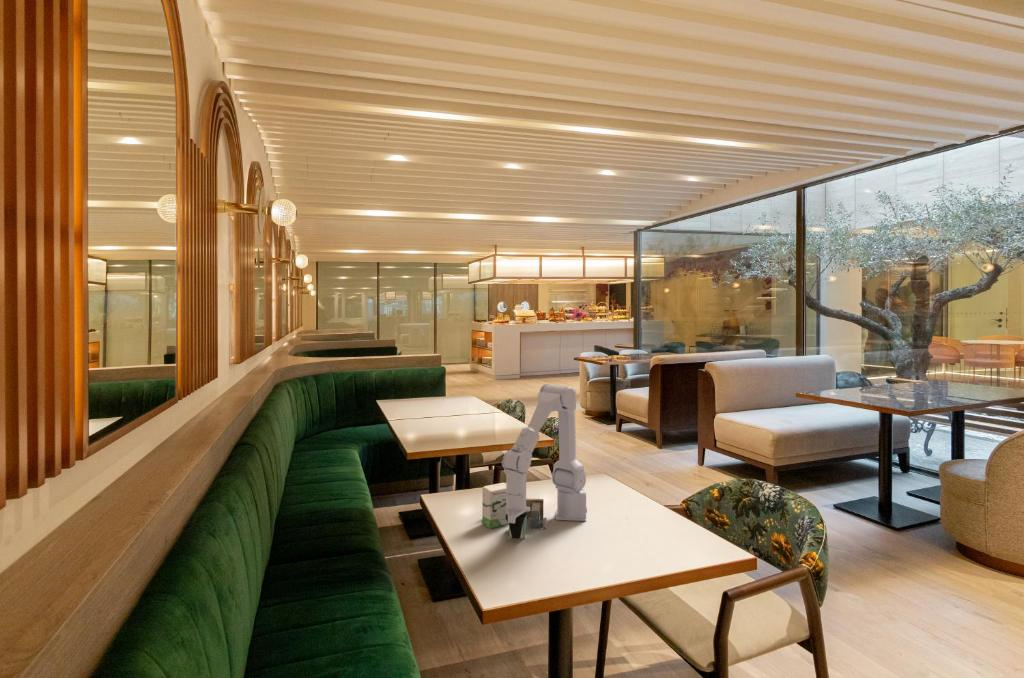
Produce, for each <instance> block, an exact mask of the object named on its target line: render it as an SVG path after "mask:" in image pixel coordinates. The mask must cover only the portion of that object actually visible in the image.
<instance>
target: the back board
mask: <svg viewBox="0 0 1024 678" xmlns="http://www.w3.org/2000/svg"><path fill="white" fill-rule="evenodd" d="M533 502H540V518H544V498H526V506H527V507H530V511H529V512H527V519H531V510H532V504H533Z"/></svg>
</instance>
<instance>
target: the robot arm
mask: <svg viewBox="0 0 1024 678" xmlns="http://www.w3.org/2000/svg"><path fill="white" fill-rule="evenodd" d="M576 393H577V392H576V390H575V389H574V388H572V386H570V385H569V386H565V385H564V386H563V385H557V384H549V383H544V384H543V385H541V386H540V390H539V392H538V393H537V400H538V401H537V405H536V407H535V410H534V412H533V415H532V416H531V418H530V422H529V423H528V425H527V427H526V426H525V427H524V428H522V429H521V431H520V433H519V434H518V436H517V438H516V439H515V441H514V444H513V446H512V447H511V449H509V450H507V451H506V452H505V453H504V454H503V457H502V460H501V466H502V467H503V469H504V475H505V477H506V479H505V480H506V481H505V483H506V512H507V514H506V516H505V518H506V520H507V522H508V524H507V525H508V528H509V527H510V531H511V535H512V540H521V539H520V536H521V531H522V526H523V522H524V519H525V517H526V515H527V512H529V511H530V507H527V506H526V499H527V472H528V471H529V469H530V468H531V465H532V458H533V452H534V450H535V447H536V446H537V444H538V441H539V440H540V435H539V432H540V431H541V429H542V427H543V425H544V424H545V422H546V421H547V419H548V418H549V416H550V415H551V414H552V412H557V416H558V418H557V419H558V420H557V422H558V453H559V454H558V458H559V460H557V461H556V462H555V463H553V471H552V474H551V479H552V480H551V481H552V483H553V485H555V489H557V493H556V494H557V496H556V497H557V502H556V503H557V509H556V510H555V520H556V521H575V522H576V521H578V522H586V521H587V513H588V507H587V489H583V488H584V487H585V485H586V483H587V477H586V474H585V468H584V465H583V464H582V463H581V462H580V461H579V460H578V459H577V445H576V443H577V442H576V441H577V440H576V437H577V436H576V409H577V399H576V398H577V396H576V395H577V394H576ZM526 511H527V512H526Z"/></svg>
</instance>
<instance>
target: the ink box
mask: <svg viewBox="0 0 1024 678" xmlns="http://www.w3.org/2000/svg"><path fill="white" fill-rule="evenodd" d="M481 503H482V509H481V510H482V512H481V513H482V517H481V519H482V522H481V523H482V525H483V526H485V527H487V528H489V529H495V528H498V527H502V526H501V525H503V526H505V525H506V524H507V525H509V524H508V522H507V520H506V518H505V516H506V514H507V512H506V482H500V483H494V484H490V485H485V486H483V487H482V502H481ZM497 526H498V527H497Z"/></svg>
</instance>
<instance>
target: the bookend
mask: <svg viewBox="0 0 1024 678" xmlns="http://www.w3.org/2000/svg"><path fill="white" fill-rule="evenodd" d="M530 526H531V527H530V529H533V528H545V529H544V530H546V528H547V517H543V518H540V502H533V504H532V510H531V518H530Z"/></svg>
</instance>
